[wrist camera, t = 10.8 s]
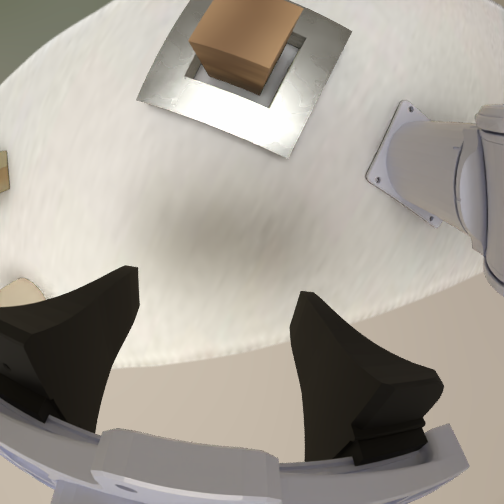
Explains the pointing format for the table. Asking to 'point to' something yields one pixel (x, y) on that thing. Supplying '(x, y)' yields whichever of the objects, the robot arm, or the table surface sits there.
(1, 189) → the box
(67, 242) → the table surface
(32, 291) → the foam cup
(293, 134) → the collar
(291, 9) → the peg
